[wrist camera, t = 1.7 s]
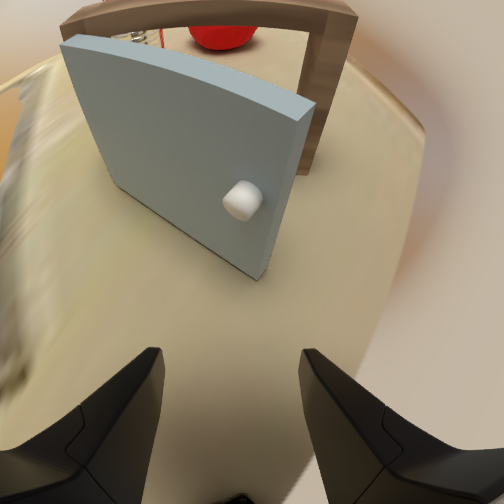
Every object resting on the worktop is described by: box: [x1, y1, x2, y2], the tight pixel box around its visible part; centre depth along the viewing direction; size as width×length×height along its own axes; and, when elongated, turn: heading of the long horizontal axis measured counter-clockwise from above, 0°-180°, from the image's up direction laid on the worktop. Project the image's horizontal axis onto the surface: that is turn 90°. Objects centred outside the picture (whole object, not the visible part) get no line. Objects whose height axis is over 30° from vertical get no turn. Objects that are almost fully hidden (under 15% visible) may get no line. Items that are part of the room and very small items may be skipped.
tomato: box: [188, 26, 258, 50], centre depth 36 cm, size 12×12×11 cm
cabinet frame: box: [60, 0, 358, 175], centre depth 22 cm, size 4×20×18 cm, turn 91°
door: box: [60, 34, 316, 280], centre depth 18 cm, size 3×17×16 cm, turn 56°
